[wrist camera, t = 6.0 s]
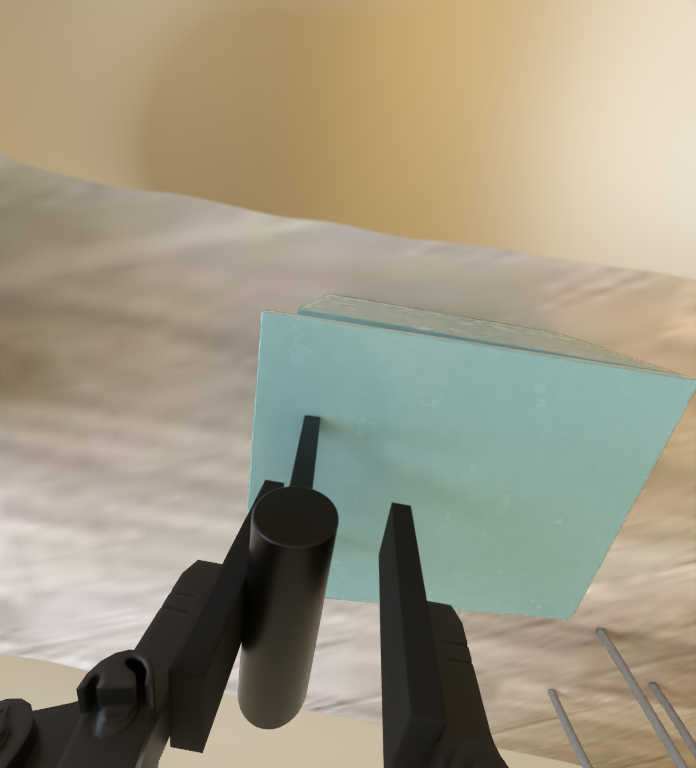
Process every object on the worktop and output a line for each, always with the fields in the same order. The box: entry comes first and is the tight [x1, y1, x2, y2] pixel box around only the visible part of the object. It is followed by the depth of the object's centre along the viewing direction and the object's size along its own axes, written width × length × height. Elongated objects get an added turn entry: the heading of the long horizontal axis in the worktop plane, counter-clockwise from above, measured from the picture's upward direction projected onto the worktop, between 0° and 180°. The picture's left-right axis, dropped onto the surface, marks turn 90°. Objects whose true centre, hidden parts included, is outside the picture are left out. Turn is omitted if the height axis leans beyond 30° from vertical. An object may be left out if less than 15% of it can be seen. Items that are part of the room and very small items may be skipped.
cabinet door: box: [238, 310, 696, 729], centre depth 13 cm, size 19×15×8 cm
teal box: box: [298, 294, 682, 375], centre depth 23 cm, size 18×15×11 cm
